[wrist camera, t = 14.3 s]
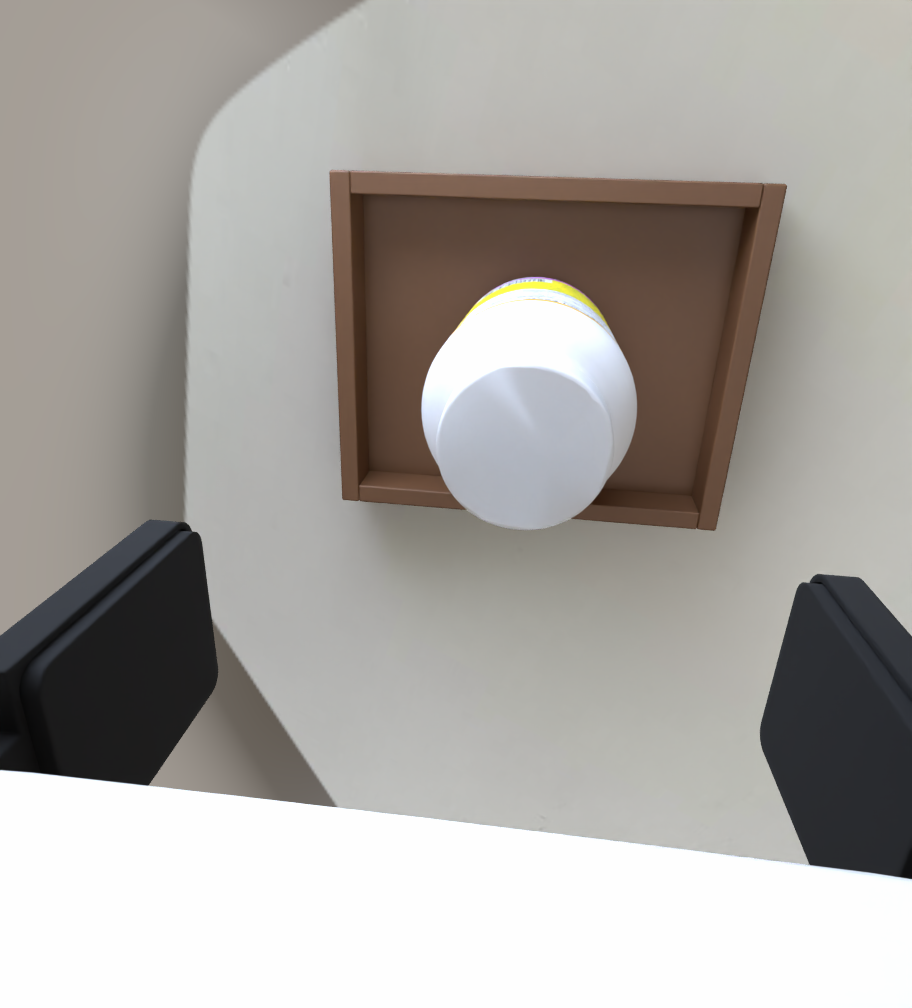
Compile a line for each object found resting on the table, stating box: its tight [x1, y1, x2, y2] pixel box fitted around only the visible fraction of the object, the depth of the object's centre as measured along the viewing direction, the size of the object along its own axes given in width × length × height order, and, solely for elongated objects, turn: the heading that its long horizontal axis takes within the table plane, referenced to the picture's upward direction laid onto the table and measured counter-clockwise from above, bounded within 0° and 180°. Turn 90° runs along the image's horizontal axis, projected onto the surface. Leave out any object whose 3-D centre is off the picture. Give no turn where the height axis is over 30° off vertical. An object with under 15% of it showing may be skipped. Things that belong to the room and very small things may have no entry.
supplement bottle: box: [421, 277, 637, 530], centre depth 24 cm, size 7×7×13 cm
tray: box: [330, 170, 787, 531], centre depth 29 cm, size 17×14×3 cm
